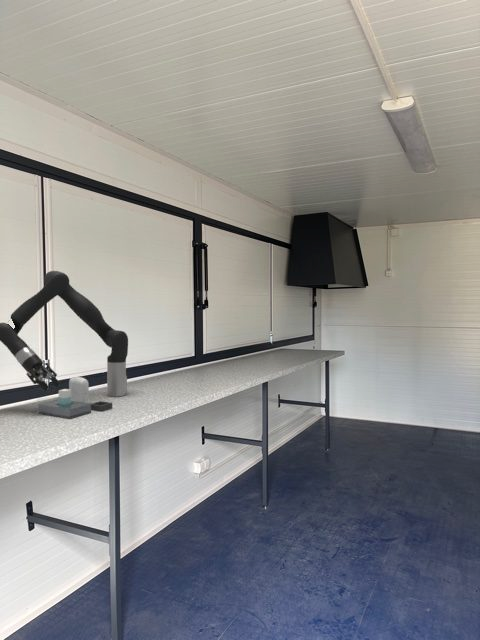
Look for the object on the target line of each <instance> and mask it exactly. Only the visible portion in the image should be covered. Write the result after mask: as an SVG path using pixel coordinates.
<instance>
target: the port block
mask: <svg viewBox="0 0 480 640" xmlns="http://www.w3.org/2000/svg"><path fill="white" fill-rule="evenodd" d="M91 404H92V402H88V403H84V402H77V401H71V404H70V405H67V406H62V405H59V399H55V400H52V401H48V402H43V403H38V405H37V406H38V407H37V409H38V412H37V413H38V415H44V416H51V417H56V418H61V419H62V418H63V419H68V420H72V419H74V418H77V417H81V416H85V415H88V414H91V413H92V410H91Z"/></svg>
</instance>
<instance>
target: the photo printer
mask: <svg viewBox="0 0 480 640" xmlns="http://www.w3.org/2000/svg"><path fill="white" fill-rule="evenodd" d="M89 385H90V384H89V380H88V379H86V378H85V377H81V376H73V377H71V378H70V379H69V381H68V389H69V390H71V401H77V402H84V403H89V387H90V386H89Z"/></svg>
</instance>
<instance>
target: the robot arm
mask: <svg viewBox="0 0 480 640" xmlns="http://www.w3.org/2000/svg"><path fill="white" fill-rule="evenodd" d="M43 282H44V286H43V287H42V289H40V290H39V291H38V292H37V293H35V294H34V295H33V296H31V297H30V298H28V299H27V300H25V301H24V302H23V303H22V304H20V305H19V306H18V307H17V308H16V309H15V310H14V311H13V312H12V313H11V315H10V319H12V321H13V323H14V325H15V328H14V329H13V328H12V327H11V326H10V325H9V324H7V323H8V322H7V323H6V322H0V342H1V343H2V344H3V345H4V346H5V347H6V348H7V350H9V351H10V353H11V354H12V355H13V357H14V358H15V360H17V362H18V363H19V364H20V366H21V367H22V368H23V369H24V370H25V371H26V376H27V377H28V378H29V379H30V381H31V382H32V384H34V385H36V384H37V385H39V386H40V387H41V389H43V390H44V391H45V392H46V391H47V390H48V389H49V388H50V386H49V385H48V383H47V382H46V381H45V380H49V381H50V382H51V383H52V384H53V385H54V386H55V387H56V388H58V387H59V386H60V385H61V382H60V381H59V380H58V378H57V376H58V374H57V373H56V372H55V371H54V369H52V368H51V366H50V365H47V366H44V365H43V364H44V361H43V360H42V359H41V358H40V356H39V355H38V354H37V353H36V352H35V351H34V350H33V349H32V348H31V347H30V346H29V345H28V344H27V343H26V341H24V340H23V339H22V338H21V337H20V336H19V333H20V332H21V331H22V329H23V327H24V326H25V324H27V323H28V322H29V321H30V320H31V319H32V318H33V317H34V316H35V315H36V314H37V313H38V312H39V311H40V310H41V309H42V308H43V307H44V306H47V304H49V302H51V301H52V300H53V299H54V298H55V297H57V296H58V298H60V299H62V301H63V302H64V303H65V304H66V305H67V307H68V308H70V309H71V311H73V312H74V314H75V315H76V316H77V317H78V318H79V319H81V320H82V322H83V323H85V324H86V325H87V326H88V327H89V328H90V329H91V330H93V331H94V332H95V333H96V334H97V335H98V337H99V338H100V339H101V340H102V342H104V344H105V345H106V346H107V347H108V348H111V351H110V354H109V355H108V356H107V359H106V361H107V362H106V365H107V369H106V370H107V371H106V373H107V374H106V377H107V378H106V379H107V380H106V383H107V384H106V387H107V388H106V393H107V394H106V395H107V397H112V398H113V397H114V398H116V397H124V396H126V395H127V394H128V376H127V357H128V355H129V354H128V352H129V338H128V337H129V336H128V334H127V333H126V332H125V331H123V330H117V329H114V328H113V327H112V326H110V325H109V324H108V323H107V322H106V320H105V319H104V316H103V315H102V312H101V311H100V309H99V308H98V307H97V306H96V305H95V304H94V303H93V302H92V301H91V300H89V298H87V297H86V296H84V295H83V293H82V294H81V293H80V292H78V291H77V290H76V289H75V288H74V287H73V286H72V285H71V284H70V277H69V276H68V275H67V274H66V273H65V272H62V271H58V270H51V271H47V272H46V273H45V274H44V278H43ZM44 379H45V380H44Z"/></svg>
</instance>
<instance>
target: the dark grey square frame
mask: <svg viewBox="0 0 480 640" xmlns="http://www.w3.org/2000/svg"><path fill="white" fill-rule="evenodd" d="M112 409H113V402H109V401H102V400H100V401H95V402H91V411H94V412H95V411H96V412H105V411H108V410H112Z"/></svg>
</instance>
